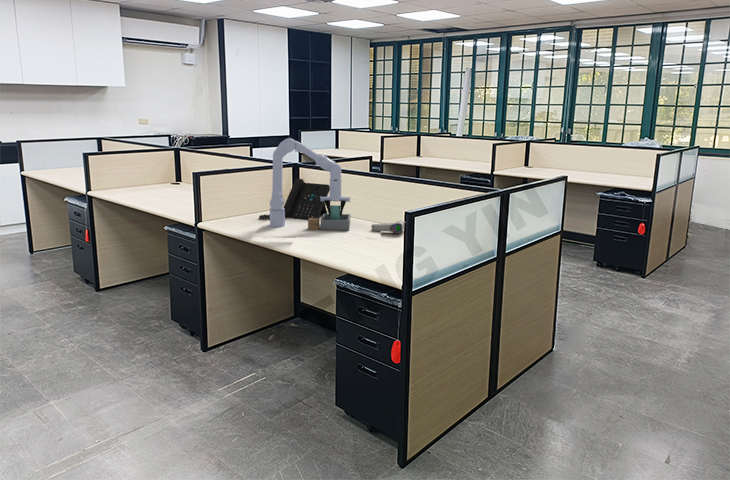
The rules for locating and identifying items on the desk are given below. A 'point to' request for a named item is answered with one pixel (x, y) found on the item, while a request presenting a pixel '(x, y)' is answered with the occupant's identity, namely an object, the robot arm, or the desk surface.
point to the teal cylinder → (335, 212)
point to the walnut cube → (313, 224)
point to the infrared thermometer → (389, 227)
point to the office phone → (304, 201)
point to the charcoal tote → (335, 223)
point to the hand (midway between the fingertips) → (335, 215)
